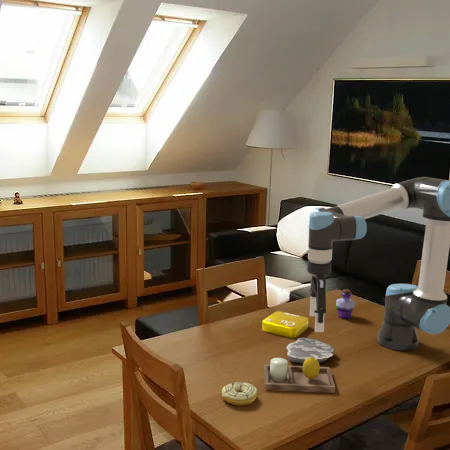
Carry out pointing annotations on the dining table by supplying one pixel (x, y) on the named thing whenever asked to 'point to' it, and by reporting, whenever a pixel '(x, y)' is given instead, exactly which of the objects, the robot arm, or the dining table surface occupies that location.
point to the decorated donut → (239, 393)
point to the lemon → (311, 368)
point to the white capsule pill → (278, 370)
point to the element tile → (285, 324)
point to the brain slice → (308, 350)
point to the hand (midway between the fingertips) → (316, 323)
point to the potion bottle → (345, 305)
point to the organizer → (301, 381)
